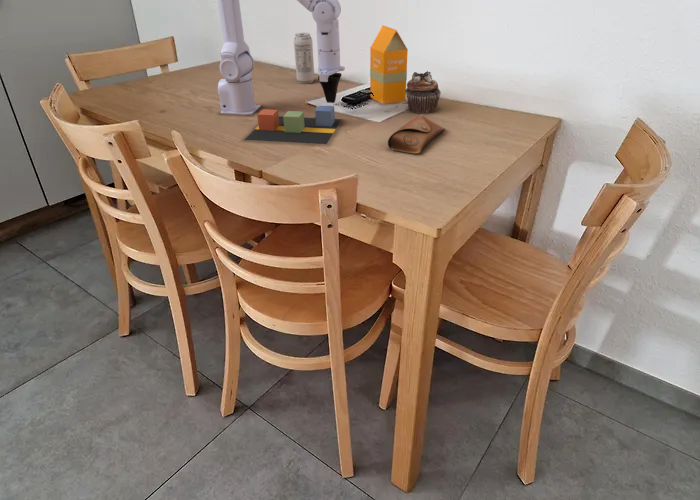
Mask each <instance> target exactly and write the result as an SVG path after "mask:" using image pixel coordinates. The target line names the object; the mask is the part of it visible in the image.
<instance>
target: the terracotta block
mask: <svg viewBox="0 0 700 500" xmlns="http://www.w3.org/2000/svg"><path fill="white" fill-rule="evenodd" d="M256 115H257V123H258V125H257V126H259V130H267V131H275V130H276V129H277V128H278V126H279V117H280V116H279V109H267V108H263V109H261V110H260V111H259V112H258V113H257V114H256Z"/></svg>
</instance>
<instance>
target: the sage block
mask: <svg viewBox="0 0 700 500" xmlns="http://www.w3.org/2000/svg"><path fill="white" fill-rule="evenodd" d="M282 117H283V119H284V129H285V132H291V133H301V132H302V130H303V129H304V128H305V124H304V118H305V113H304V111H299V110H298V111H297V110H296V111H295V110H287V112H286V113H284V115H283V116H282Z"/></svg>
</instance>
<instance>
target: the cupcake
mask: <svg viewBox="0 0 700 500" xmlns="http://www.w3.org/2000/svg"><path fill="white" fill-rule="evenodd" d="M432 75H433V74H432V73H431V71H428V70H427V71H425V72H424V73H418V72H417V71H414V72H413V73H412V75H411V79H410V80H408V81H407V82H406V101H407V107H408V110H409V111H410V112H413V113H416V114H420V113H421V114H431V113H434V112H436V111H437V108H438V105H439V100H440V97H441V94H442V91H441V90H440V89H439V83H438V82H437V81H436V80H435V79H433V77H432Z"/></svg>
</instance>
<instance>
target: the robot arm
mask: <svg viewBox="0 0 700 500" xmlns="http://www.w3.org/2000/svg"><path fill="white" fill-rule="evenodd" d="M296 1H297V2H298V3H299V4H301V6H303V8H305V9H306V10H307V11H308V12H310V13H311V16H312V18H313V20H314V22H315V23H316V24H315V25H316V44H317V46H316V48H317V62H318V63H317V64H318V67H317V72H318V76H317V80H318V82H319V84H320V86H321V88H322V90H323V94H324V97H325V101H326V104H327V103H328V104H329V103H331V104H335V102H336V99H337V94H338V93H337V92H338V88H339V87H338V86H339V83H340V80H341V78H342V73H341V72H344V71H345V70H346V67H345V66H341V48H340V47H341V45H340V43H341V42H340V27H339V26H340V25H339V17H340V15H341V12H342V7H341V4H340V2H339V0H296ZM217 5H218V11H219V18H220V24H221V25H220V26H221V32H222V38H223V39H222V40H223V45H222V48H221V49H220V62H219V66H218V68H219V72H220V75H221V76H222V77H223V78H221V79H219V81H218V82H217V93H218V99H219V105H220V114H223V115H224V114H225V115H246V116H247V115H248V116H251V115H253V114H254V113H255V112H256V111H257V110H258V109H260V108H261V107H262V105H261V104H256V100H255V99H256V98H255V91H254V84H253V83H254V82H253V76H252V71H253V70H254V67H255V59H254V57H253V56H252V54H251V53H250V46H249V44H247V43H246V41H245V36H244V28H243V20H242V12H241V4H240V0H217Z"/></svg>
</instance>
